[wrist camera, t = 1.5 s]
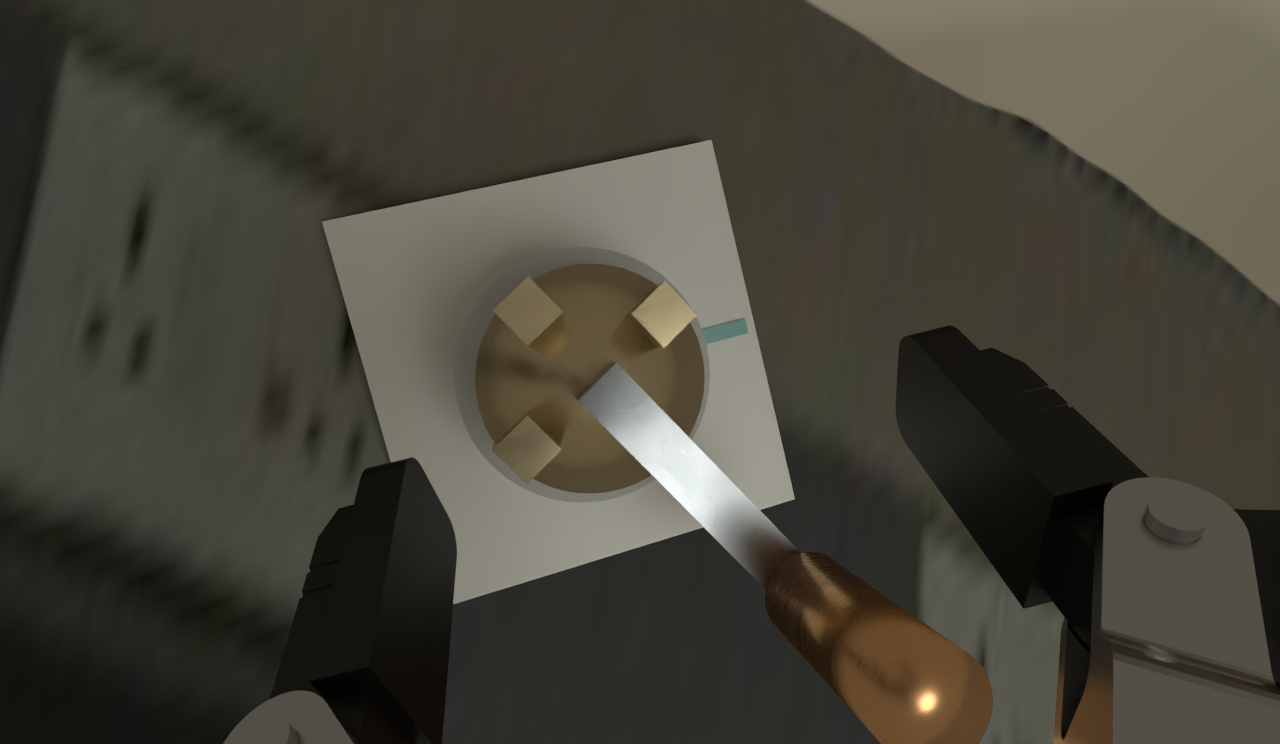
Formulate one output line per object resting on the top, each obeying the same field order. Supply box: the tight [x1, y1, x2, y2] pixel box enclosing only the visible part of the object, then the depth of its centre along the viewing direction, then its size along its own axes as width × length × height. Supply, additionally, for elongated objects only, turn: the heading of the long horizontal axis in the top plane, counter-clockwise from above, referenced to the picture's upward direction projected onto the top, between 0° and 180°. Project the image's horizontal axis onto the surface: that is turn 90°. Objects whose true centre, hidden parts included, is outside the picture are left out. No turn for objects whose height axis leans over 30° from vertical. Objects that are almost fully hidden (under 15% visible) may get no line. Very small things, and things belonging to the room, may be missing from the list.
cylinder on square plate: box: [322, 140, 795, 604], centre depth 33 cm, size 20×20×8 cm
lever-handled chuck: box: [475, 264, 993, 744], centre depth 23 cm, size 18×9×12 cm, turn 44°
